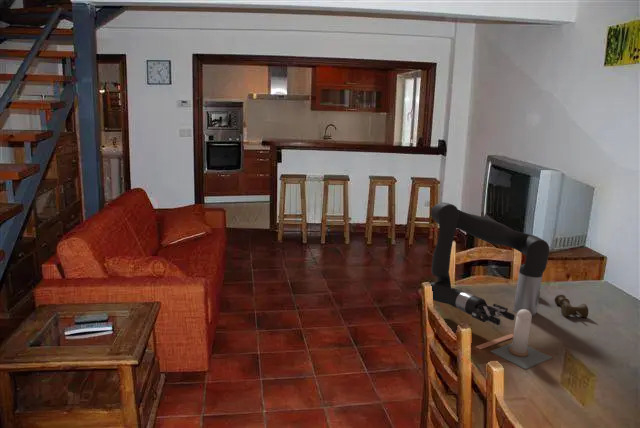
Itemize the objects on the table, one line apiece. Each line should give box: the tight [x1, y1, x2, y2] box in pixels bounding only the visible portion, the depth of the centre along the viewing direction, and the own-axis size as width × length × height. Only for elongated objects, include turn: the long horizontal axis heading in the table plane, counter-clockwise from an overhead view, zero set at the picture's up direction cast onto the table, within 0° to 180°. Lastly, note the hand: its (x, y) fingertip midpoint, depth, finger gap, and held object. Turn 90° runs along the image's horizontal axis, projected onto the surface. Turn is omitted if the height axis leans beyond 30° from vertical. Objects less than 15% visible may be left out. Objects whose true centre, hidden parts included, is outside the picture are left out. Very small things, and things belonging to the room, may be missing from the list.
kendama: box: [554, 294, 589, 319], centre depth 227 cm, size 6×10×20 cm
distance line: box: [475, 333, 514, 350], centre depth 195 cm, size 22×2×1 cm, turn 126°
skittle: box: [509, 309, 533, 357], centre depth 185 cm, size 6×6×16 cm
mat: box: [490, 342, 553, 370], centre depth 186 cm, size 16×14×1 cm
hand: (506, 320), depth 190 cm, fingers open, 8 cm apart
